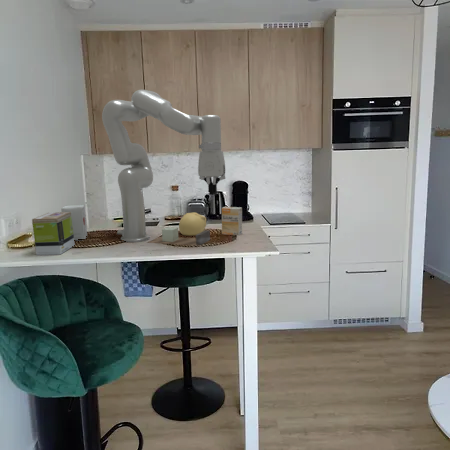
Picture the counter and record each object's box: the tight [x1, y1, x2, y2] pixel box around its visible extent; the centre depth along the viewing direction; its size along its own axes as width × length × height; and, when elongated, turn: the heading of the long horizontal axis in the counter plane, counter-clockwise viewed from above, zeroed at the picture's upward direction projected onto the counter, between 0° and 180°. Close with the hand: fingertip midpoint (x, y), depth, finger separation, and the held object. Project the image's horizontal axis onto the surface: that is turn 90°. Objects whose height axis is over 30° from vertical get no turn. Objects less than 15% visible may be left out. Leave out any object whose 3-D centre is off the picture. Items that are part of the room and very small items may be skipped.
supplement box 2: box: [221, 206, 243, 236], centre depth 190 cm, size 8×5×13 cm, turn 68°
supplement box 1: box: [61, 204, 88, 241], centre depth 193 cm, size 9×9×15 cm
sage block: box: [161, 227, 179, 242], centre depth 180 cm, size 5×5×5 cm
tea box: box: [31, 211, 76, 256], centre depth 171 cm, size 15×10×15 cm, turn 178°
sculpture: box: [178, 212, 207, 237], centre depth 193 cm, size 12×12×11 cm
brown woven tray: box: [146, 229, 211, 246], centre depth 179 cm, size 24×12×5 cm, turn 70°
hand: (212, 194), depth 170 cm, fingers closed
